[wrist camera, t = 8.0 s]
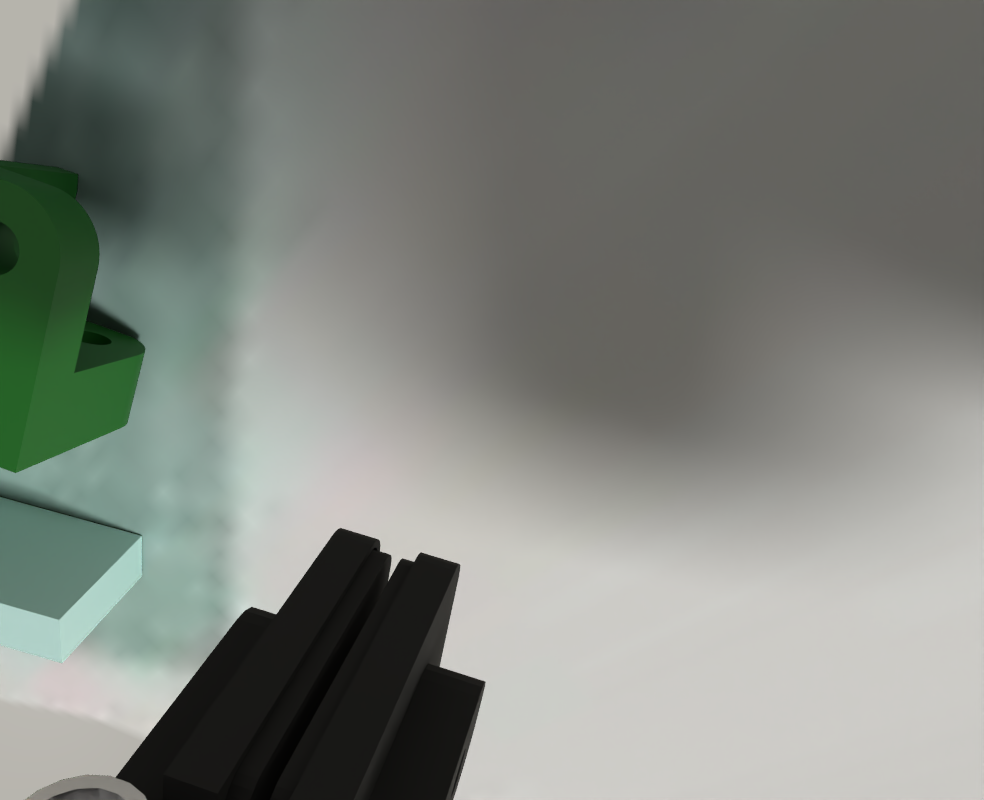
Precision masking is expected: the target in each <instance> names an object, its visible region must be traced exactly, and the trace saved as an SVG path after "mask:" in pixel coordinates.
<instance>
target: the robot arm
mask: <svg viewBox="0 0 984 800" xmlns="http://www.w3.org/2000/svg"><path fill="white" fill-rule="evenodd" d="M390 566H391V555H389V554H386V553H383V552H380V541H379V540H378V539H375V538H372V537H368V536H365V535H362V534H358V533H355V532H352V531H349V530H345V529H342V528H340V529H338V530H337V531H336V532H335V533H334V534H333V536H332V537H331V538H330V540H329V541H328V543H327V544H326V545H325V547H324V548H323V550H322V551H321V552H320V554H319V555H318V557H317V558H316V559H315V561H314V562H313V564H312V565H311V567H310V568H309V569H308V571H307V572H306V574H305V575H304V576H303V578H302V579H301V581H300V582H299V583H298V585H297V586H296V588H295V589H294V590H293V592H292V593H291V595H290V596H289V598H288V599H287V600H286V602H285V603H284V605H283V606H282V607H281V609H280V610H279V612H278V613H277V614H273V613H270V612H266V611H263V610H260V609H257V608H253V607H251V608H249V609H247V610H245V611H244V612H243V614H242V615H241V616H240V617H239V618H238V619H237V620H236V622H235V623H234V624H233V625H232V627H231V628H230V629H229V631H228V632H227V633H226V635H225V636H224V637H223V638H222V640H221V641H220V642H219V644H218V645H217V646H216V648H215V649H214V650H213V651H212V653H211V654H210V655H209V657H208V658H207V659H206V661H205V662H204V663H203V664H202V666H201V667H200V668H199V670H198V671H197V672H196V674H195V675H194V676H193V677H192V679H191V680H190V681H189V683H188V684H187V685H186V687H185V688H184V689H183V690H182V692H181V693H180V694H179V696H178V697H177V698H176V700H175V701H174V702H173V703H172V705H171V706H170V707H169V709H168V710H167V711H166V713H165V714H164V715H163V716H162V718H161V719H160V720H159V722H158V723H157V724H156V726H155V727H154V728H153V729H152V731H151V732H150V733H149V735H148V736H147V737H146V739H145V740H144V741H143V742H142V744H141V745H140V746H139V748H138V749H137V750H136V752H135V753H134V754H133V755H132V757H131V758H130V760H129V761H128V762H127V763H126V765H125V766H124V767H123V769H122V770H121V771H120V773H119V774H118V775H117V776H116V778H115V777H112V776H103V775H102V776H100V775H83V776H78V777H73V778H68V779H63V780H60V781H58V782H56V783H53V784H51V785H49V786H47V787H44V788H42V789H40V790H38V791H36V792H35V793H33V794H32V795H31V796H30V797H28V798H27V799H25V800H453V798H454V795H455V792H456V789H457V786H458V782H459V779H460V776H461V773H462V769H463V766H464V763H465V759H466V756H467V752H468V749H469V745H470V742H471V738H472V734H473V731H474V727H475V723H476V719H477V716H478V712H479V708H480V704H481V700H482V696H483V691H484V687H485V681H481V680H478V679H475V678H472V677H469V676H466V675H463V674H460V673H457V672H453V671H450V670H447V669H444V668H441V667H439V666H440V662H441V657H442V652H443V648H444V643H445V638H446V634H447V629H448V624H449V620H450V615H451V610H452V605H453V601H454V596H455V591H456V587H457V582H458V577H459V572H460V564H457V563H454V562H451V561H447V560H444V559H441V558H437V557H434V556H431V555H428V554H424V553H420V554H419V555H418V556H417V558H416V560H415V562H412V561H409V560H406V559H401V560H400V562H399V563H398V565H397V567H396V569H395V570H394V572H393V574H392V576H391V578H390V579H389V581H388V578H389V572H390Z"/></svg>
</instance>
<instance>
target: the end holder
mask: <svg viewBox="0 0 984 800" xmlns="http://www.w3.org/2000/svg"><path fill="white" fill-rule="evenodd" d="M141 576H142V536H140V535H136V534H133V533H129V532H126V531H122V530H118V529H115V528H111V527H107V526H104V525H100V524H97V523H93V522H89V521H86V520H82V519H78V518H75V517H71V516H68V515H64V514H60V513H57V512H53V511H49V510H46V509H42V508H38V507H35V506H31V505H28V504H24V503H20V502H17V501H13V500H9V499H6V498H2V497H0V645H1V646H4V647H8V648H11V649H15V650H18V651H22V652H25V653H29V654H32V655H35V656H39V657H42V658H46V659H49V660H53V661H56V662H59V663H63V662H64V661H65V660H66V658H67V657H68V656H69V655H70V654H71V653H72V652H73V651H74V650H75V649H76V648H77V646H78V645H79V644H80V643H81V642H82V641H83V640H84V639H85V638H86V637H87V635H88V634H89V633H90V632H91V631H92V630H93V629H94V628H95V627H96V626H97V625H98V623H99V622H100V621H101V620H102V619H103V618H104V617H105V616H106V615H107V614H108V612H109V611H110V610H111V609H112V608H113V607H114V606H115V605H116V604H117V603H118V602H119V600H120V599H121V598H122V597H123V596H124V595H125V594H126V593H127V592H128V591H129V589H130V588H131V587H132V586H133V585H134V584H135V583H136V582H137V581H138V580H139V579H140V577H141Z"/></svg>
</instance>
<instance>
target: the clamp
mask: <svg viewBox="0 0 984 800" xmlns="http://www.w3.org/2000/svg"><path fill="white" fill-rule="evenodd" d="M77 187H78V174H75V173H73V172H70V171H67V170H64V169H61V168H58V167H51V166H43V165H35V164H27V163H19V162H11V161H3V160H0V467H1V468H4V469H6V470H9V471H12V472H14V473H17V472H19V471H21V470H24V469H26V468H28V467H31V466H33V465H35V464H38V463H40V462H42V461H45V460H47V459H49V458H52V457H54V456H56V455H59V454H61V453H63V452H66V451H68V450H70V449H73V448H75V447H77V446H80V445H82V444H84V443H87V442H89V441H91V440H94V439H96V438H98V437H101V436H103V435H105V434H108V433H110V432H112V431H115V430H117V429H119V428H122V427H123V426H125V425H126V424H127V422H128V418H129V414H130V410H131V406H132V402H133V398H134V394H135V390H136V386H137V381H138V377H139V373H140V369H141V365H142V361H143V357H144V353H145V347H144V345H143V344H142V343H141V342H139V341H138V340H136V339H135V338H133V337H130V336H128V335H125V334H122V333H119V332H117V331H114V330H111V329H108V328H105V327H103V326H100V325H97V324H94V323H92V322H89V321H86V319H87V314H88V310H89V305H90V301H91V296H92V292H93V288H94V283H95V279H96V274H97V270H98V265H99V243H98V238H97V234H96V231H95V228H94V226H93V223H92V221H91V219H90V218H89V216H88V214H87V213H86V211H85V210H84V209H83V207H82V206H81V205H80V204H79V203H78V202H77V201H76V200H75V198H76V194H77Z"/></svg>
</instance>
